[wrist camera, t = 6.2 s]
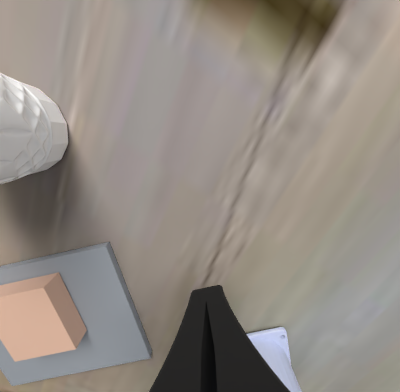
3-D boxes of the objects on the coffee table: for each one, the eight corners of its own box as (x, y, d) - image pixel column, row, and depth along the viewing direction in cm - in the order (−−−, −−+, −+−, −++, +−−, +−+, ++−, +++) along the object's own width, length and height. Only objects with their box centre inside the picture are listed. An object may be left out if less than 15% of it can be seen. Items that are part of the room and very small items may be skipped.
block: (75, 349, 19) (14, 361, 19) (87, 328, 21) (32, 340, 21) (43, 287, 17) (-24, 302, 17) (59, 271, 19) (-1, 284, 19)
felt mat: (152, 350, 23) (150, 358, 22) (17, 377, 24) (11, 385, 23) (109, 241, 19) (105, 246, 18) (-50, 277, 20) (-59, 282, 19)
